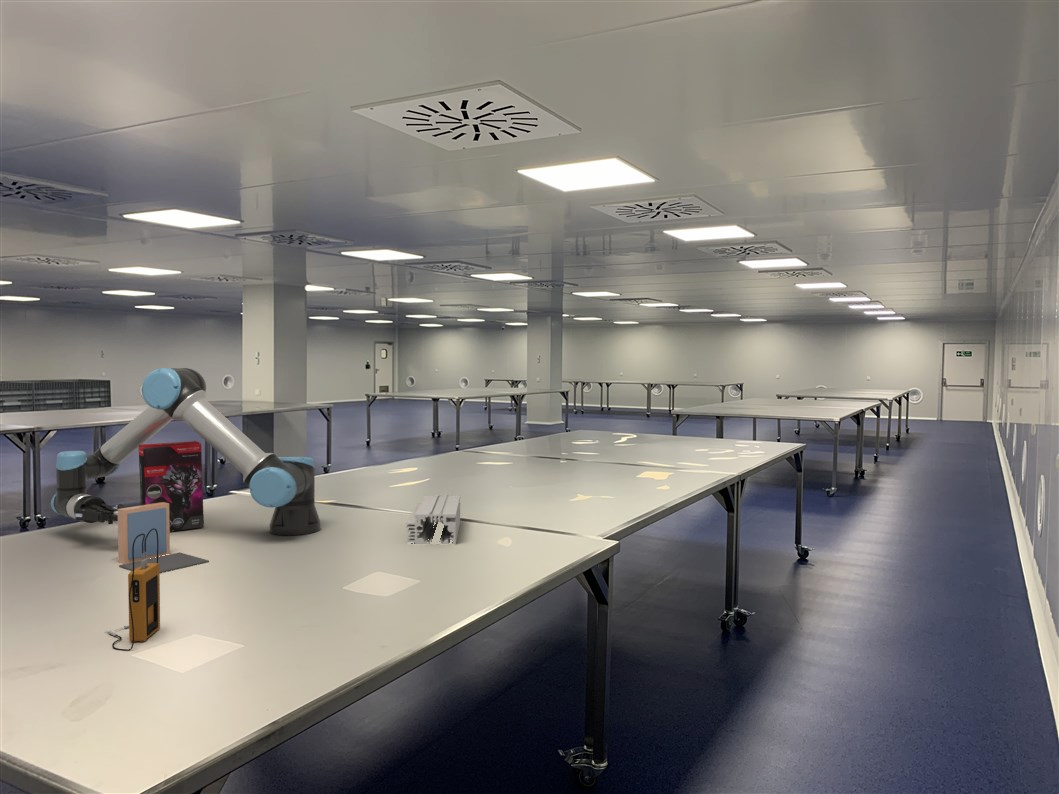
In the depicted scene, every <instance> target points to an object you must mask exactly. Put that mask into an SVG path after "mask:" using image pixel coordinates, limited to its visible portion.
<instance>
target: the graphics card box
mask: <svg viewBox="0 0 1059 794" xmlns="http://www.w3.org/2000/svg"><path fill="white" fill-rule="evenodd" d="M202 456H203V455H202V443H201V442H200V441H198V440H197V441H196V440H193V441H179V442H175V441H174V442H158V443H144V444H141V445H139V448H138V463H139V464H138V465H139V469H138V470H139V487H140V488H139V490H140V491H139V492H140V494H139V495H140V506H141V505H148V504H154V503H161V502H165V503H169V532H175V531H183V530H184V531H185V530H191V529H198V528H203V527H204V526H205V524H204V523H205V520H204V518H205V517H204V496H203V495H204V493H203V492H204V491H203V461H202Z"/></svg>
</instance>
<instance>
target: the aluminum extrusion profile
mask: <svg viewBox="0 0 1059 794" xmlns="http://www.w3.org/2000/svg"><path fill="white" fill-rule="evenodd" d="M460 501H461V495H449V493H447V492H446V493H445V495H440V493H439V492H438V493H437V494H436V495H424V497H423V498H422V500H421V502H418V503H416V504H415V506H414V508H413V511H412V512H411V514H410V516H409V517H408V520H407V521H406V523H405V524H406V526H405V528H406V529H407V532H409V534H408V537H407V538H406V541H405V542H406V543H407V542H414V544H430V542H432V539H433V536H434V533H435V530H436V527H437V524H438V522H443V524H444V528H443V531H442V535H441V538H440V541H439V542H441V544H449V543H450V540H452V541H453V542H452V544H455V545H456V543H457V541H458V534H459V529H460V525H461V502H460ZM442 518H443V519H442ZM441 520H443V521H441ZM434 522H435V523H436V524H435V525H434ZM433 525H434V526H433ZM433 527H434V528H433ZM428 539H429V540H428ZM427 542H428V543H427ZM411 544H413V543H411Z"/></svg>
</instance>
